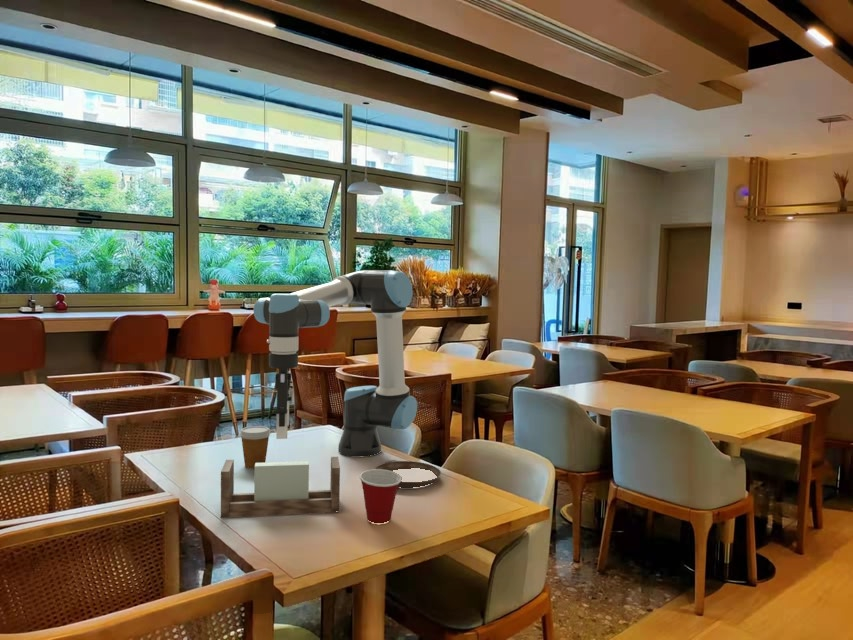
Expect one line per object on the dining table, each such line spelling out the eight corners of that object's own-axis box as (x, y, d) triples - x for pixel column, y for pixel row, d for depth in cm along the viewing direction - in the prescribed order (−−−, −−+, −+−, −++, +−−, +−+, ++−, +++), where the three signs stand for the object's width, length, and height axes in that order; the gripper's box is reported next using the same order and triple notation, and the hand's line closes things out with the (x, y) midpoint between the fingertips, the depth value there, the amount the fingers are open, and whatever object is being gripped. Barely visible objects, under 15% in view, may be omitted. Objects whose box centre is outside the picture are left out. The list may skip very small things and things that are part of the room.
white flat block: (308, 500, 166) (308, 461, 166) (308, 504, 164) (308, 464, 163) (255, 502, 164) (255, 462, 163) (254, 507, 161) (254, 466, 160)
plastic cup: (384, 533, 149) (385, 485, 148) (349, 522, 155) (350, 476, 154) (409, 519, 158) (410, 473, 158) (375, 509, 164) (376, 466, 163)
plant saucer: (421, 467, 202) (422, 457, 202) (452, 487, 184) (453, 476, 184) (363, 474, 193) (364, 464, 192) (390, 496, 174) (390, 485, 174)
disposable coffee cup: (265, 470, 193) (265, 433, 192) (235, 469, 193) (235, 432, 192) (273, 461, 203) (273, 426, 202) (245, 460, 203) (245, 425, 202)
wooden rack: (337, 498, 171) (338, 456, 171) (339, 512, 162) (340, 467, 161) (225, 503, 166) (226, 459, 165) (220, 517, 156) (220, 471, 155)
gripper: (271, 346, 172) (271, 420, 174) (265, 359, 148) (265, 444, 149) (298, 346, 174) (298, 419, 175) (297, 359, 149) (296, 444, 151)
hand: (282, 431), depth 162 cm, fingers open, 13 cm apart
